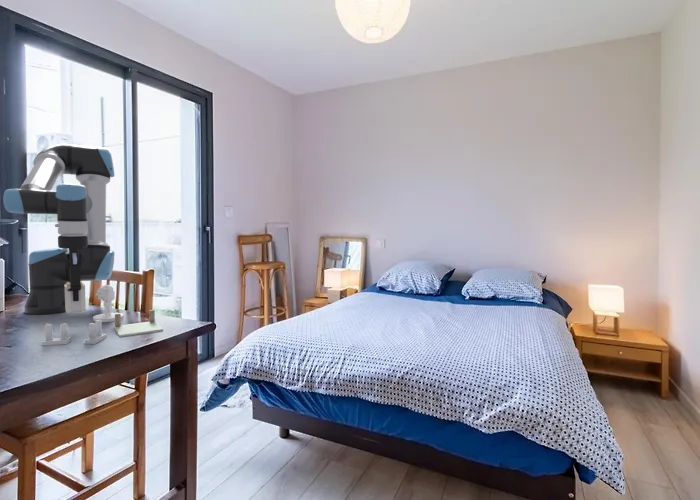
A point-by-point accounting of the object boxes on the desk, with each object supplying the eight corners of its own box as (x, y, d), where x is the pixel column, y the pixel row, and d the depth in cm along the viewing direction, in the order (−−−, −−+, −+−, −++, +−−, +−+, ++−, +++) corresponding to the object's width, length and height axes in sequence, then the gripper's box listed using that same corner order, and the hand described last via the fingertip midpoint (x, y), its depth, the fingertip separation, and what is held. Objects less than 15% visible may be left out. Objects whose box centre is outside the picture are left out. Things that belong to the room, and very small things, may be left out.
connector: (65, 309, 123) (64, 282, 123) (84, 307, 126) (83, 281, 126) (66, 313, 120) (64, 285, 119) (85, 310, 123) (84, 283, 122)
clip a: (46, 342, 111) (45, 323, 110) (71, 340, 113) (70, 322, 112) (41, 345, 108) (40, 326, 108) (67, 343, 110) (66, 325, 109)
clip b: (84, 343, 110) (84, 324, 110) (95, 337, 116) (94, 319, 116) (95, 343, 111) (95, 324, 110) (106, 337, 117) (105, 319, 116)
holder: (114, 327, 127) (113, 313, 126) (154, 322, 134) (154, 309, 134) (119, 337, 117) (119, 321, 117) (162, 330, 124) (162, 316, 124)
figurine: (109, 323, 132) (108, 287, 131) (86, 321, 134) (85, 286, 133) (129, 316, 141) (128, 283, 140) (107, 314, 143) (107, 282, 142)
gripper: (57, 233, 125) (59, 304, 128) (58, 237, 111) (61, 317, 114) (85, 232, 130) (87, 301, 132) (90, 237, 116) (92, 314, 118)
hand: (75, 308), depth 123 cm, fingers closed on connector, 5 cm apart
